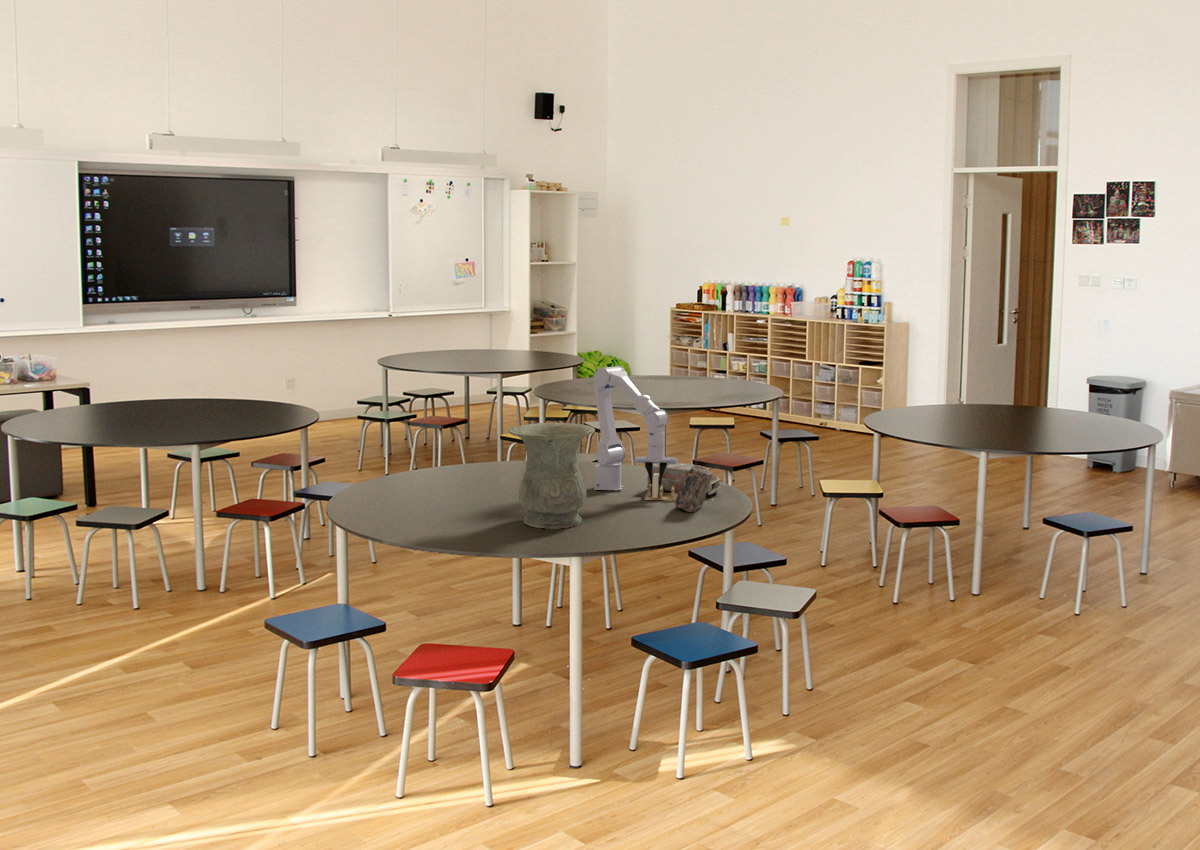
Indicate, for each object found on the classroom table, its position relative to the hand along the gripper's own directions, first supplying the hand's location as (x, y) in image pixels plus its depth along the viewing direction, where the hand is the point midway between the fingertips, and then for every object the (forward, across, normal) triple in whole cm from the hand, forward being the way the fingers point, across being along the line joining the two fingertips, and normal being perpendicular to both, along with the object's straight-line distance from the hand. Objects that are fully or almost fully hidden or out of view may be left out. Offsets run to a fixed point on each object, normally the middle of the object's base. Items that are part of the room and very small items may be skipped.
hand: (655, 484), depth 388 cm
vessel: (+5, -30, -39) cm, 49 cm away
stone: (+5, +13, -15) cm, 21 cm away
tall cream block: (+4, 0, 0) cm, 4 cm away
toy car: (+5, +9, +10) cm, 15 cm away
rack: (+5, +2, 0) cm, 5 cm away
